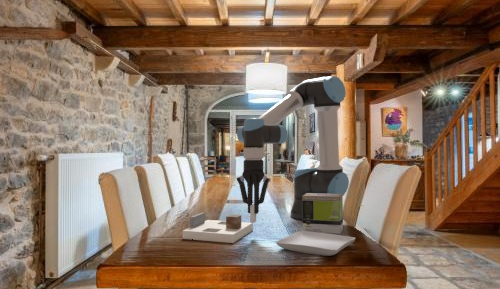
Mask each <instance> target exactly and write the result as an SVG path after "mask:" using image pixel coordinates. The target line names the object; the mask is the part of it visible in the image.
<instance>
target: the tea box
mask: <svg viewBox="0 0 500 289" xmlns="http://www.w3.org/2000/svg"><path fill="white" fill-rule="evenodd" d="M343 197H344V196H342V194H320V193H307V194H305V195H303V196H302V219H301V220H302V223H301V226H302V231H306V232H317V233H327V234H335V235H341V233H342V232H343V228H344V215H343V214H344V210H343V208H344V207H343V206H344V203H343V199H344V198H343Z"/></svg>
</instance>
